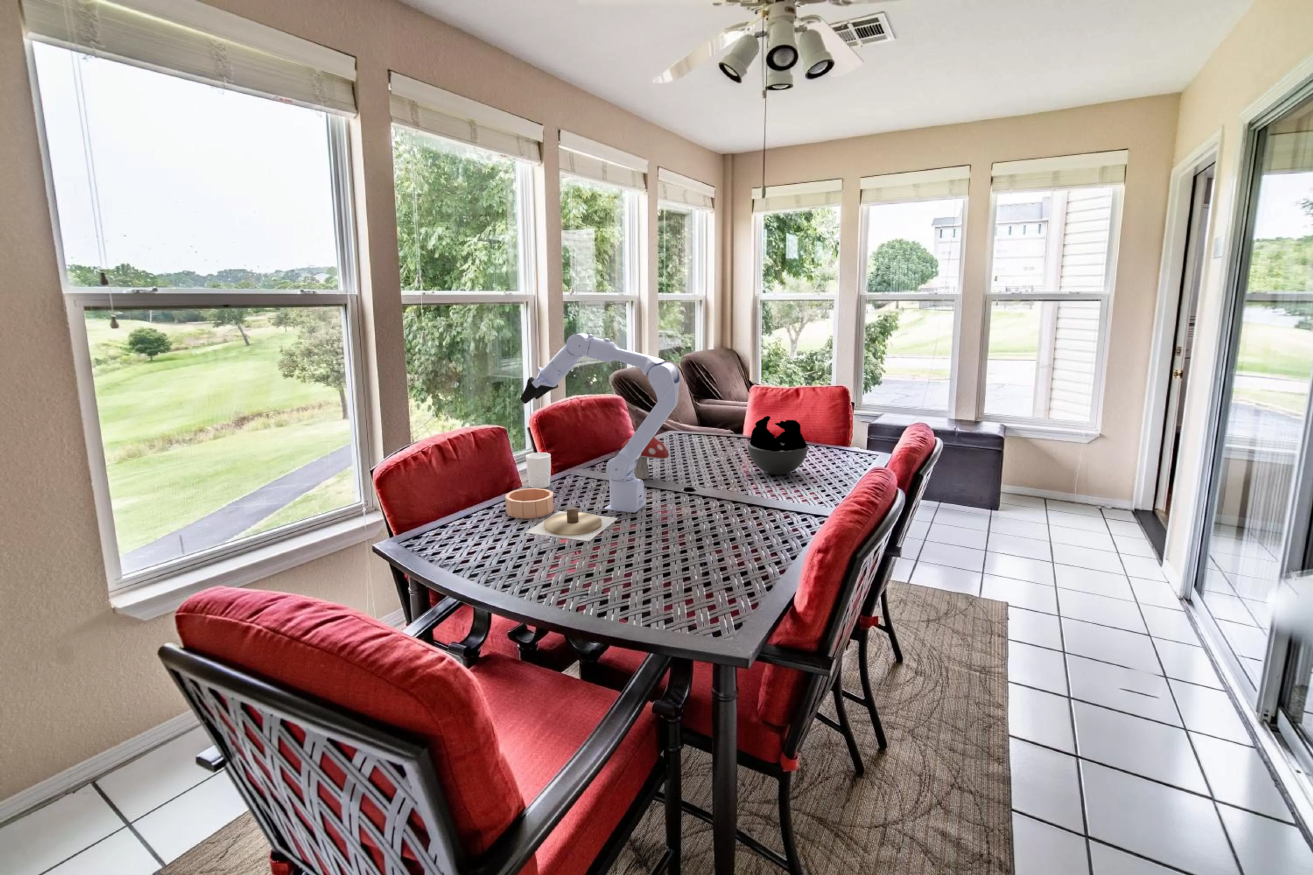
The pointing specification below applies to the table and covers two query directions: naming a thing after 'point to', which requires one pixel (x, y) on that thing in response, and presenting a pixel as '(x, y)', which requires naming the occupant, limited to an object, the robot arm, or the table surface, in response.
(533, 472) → the white cup
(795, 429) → the coal bowl
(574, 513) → the oak lid
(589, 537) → the white square mat
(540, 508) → the terracotta bowl
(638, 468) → the decorative mushroom
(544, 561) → the table surface
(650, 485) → the table surface
